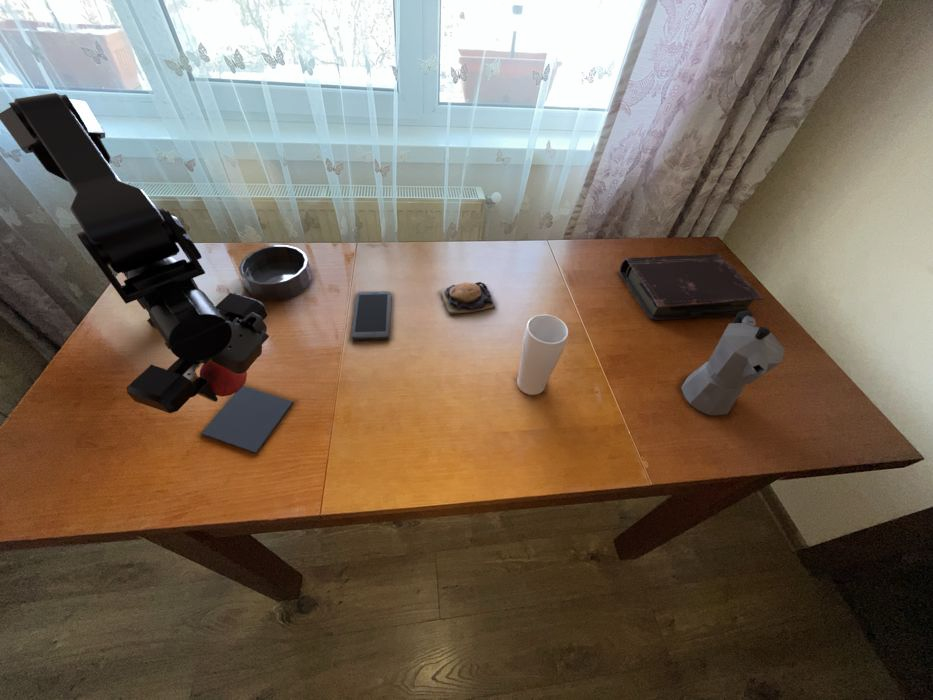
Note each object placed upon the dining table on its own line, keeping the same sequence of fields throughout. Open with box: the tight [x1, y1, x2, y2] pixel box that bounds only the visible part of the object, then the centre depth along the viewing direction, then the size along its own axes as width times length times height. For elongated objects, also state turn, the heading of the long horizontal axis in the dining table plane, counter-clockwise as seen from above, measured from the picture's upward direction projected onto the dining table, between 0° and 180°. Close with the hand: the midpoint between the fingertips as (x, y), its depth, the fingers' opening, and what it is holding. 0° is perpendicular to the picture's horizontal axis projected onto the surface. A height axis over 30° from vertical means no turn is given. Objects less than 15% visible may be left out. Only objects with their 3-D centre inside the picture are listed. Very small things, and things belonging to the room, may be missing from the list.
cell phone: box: [351, 290, 392, 341], centre depth 83 cm, size 7×14×1 cm, turn 6°
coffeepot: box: [680, 309, 786, 417], centre depth 69 cm, size 15×9×18 cm, turn 162°
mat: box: [200, 385, 294, 454], centre depth 66 cm, size 10×10×1 cm
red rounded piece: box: [199, 359, 248, 397], centre depth 58 cm, size 6×6×8 cm
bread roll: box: [440, 281, 495, 315], centre depth 87 cm, size 11×8×4 cm
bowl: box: [238, 244, 313, 302], centre depth 87 cm, size 14×14×4 cm
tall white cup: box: [516, 313, 569, 396], centre depth 69 cm, size 7×7×15 cm
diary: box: [618, 253, 763, 321], centre depth 93 cm, size 19×25×5 cm
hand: (228, 384), depth 60 cm, fingers closed on red rounded piece, 6 cm apart
